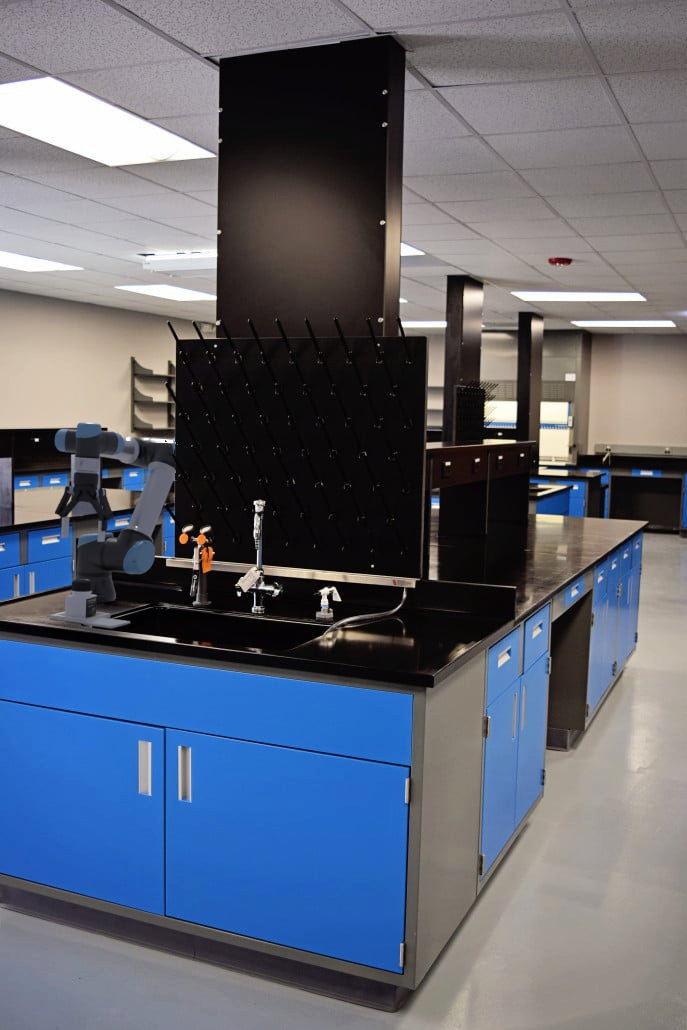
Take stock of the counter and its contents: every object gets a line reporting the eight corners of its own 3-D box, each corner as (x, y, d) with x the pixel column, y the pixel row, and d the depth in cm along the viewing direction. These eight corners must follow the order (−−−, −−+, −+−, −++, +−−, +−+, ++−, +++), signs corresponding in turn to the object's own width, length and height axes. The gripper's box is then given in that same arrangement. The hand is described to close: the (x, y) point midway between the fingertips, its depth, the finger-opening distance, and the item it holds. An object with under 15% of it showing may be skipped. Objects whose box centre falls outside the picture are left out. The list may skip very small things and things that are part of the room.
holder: (75, 612, 300) (75, 609, 300) (110, 617, 296) (110, 613, 296) (49, 618, 288) (49, 614, 288) (86, 623, 284) (86, 619, 283)
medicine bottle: (85, 621, 288) (87, 582, 287) (64, 619, 289) (65, 580, 288) (96, 617, 295) (98, 579, 294) (75, 615, 296) (76, 577, 295)
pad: (102, 619, 292) (102, 617, 292) (130, 623, 288) (130, 621, 288) (83, 624, 282) (83, 622, 282) (111, 628, 279) (111, 626, 279)
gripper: (45, 469, 296) (42, 536, 297) (113, 474, 287) (109, 543, 288) (60, 470, 303) (57, 535, 304) (127, 475, 294) (123, 542, 295)
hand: (82, 539), depth 296 cm, fingers open, 13 cm apart
